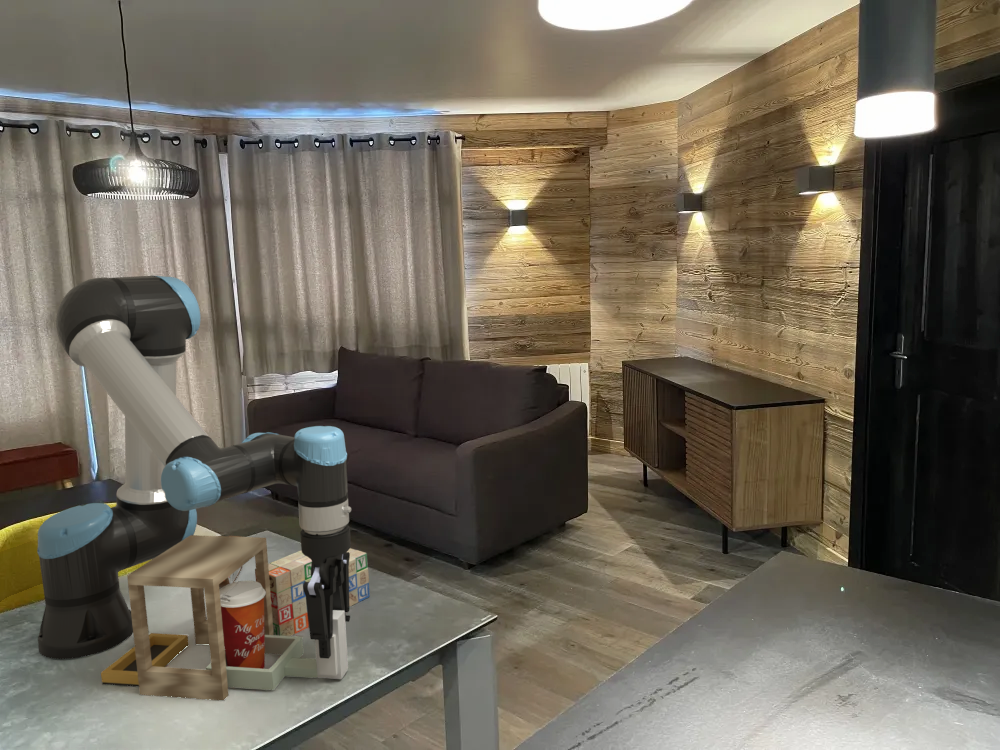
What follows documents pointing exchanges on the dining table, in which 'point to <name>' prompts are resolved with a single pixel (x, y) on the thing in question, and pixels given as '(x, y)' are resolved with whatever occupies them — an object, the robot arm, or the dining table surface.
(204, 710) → the dining table surface
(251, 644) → the paper cup
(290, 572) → the stack of blocks
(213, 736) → the dining table surface
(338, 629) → the collar
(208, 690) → the oak tunnel
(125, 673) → the pit trap
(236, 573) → the tin
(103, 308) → the robot arm
